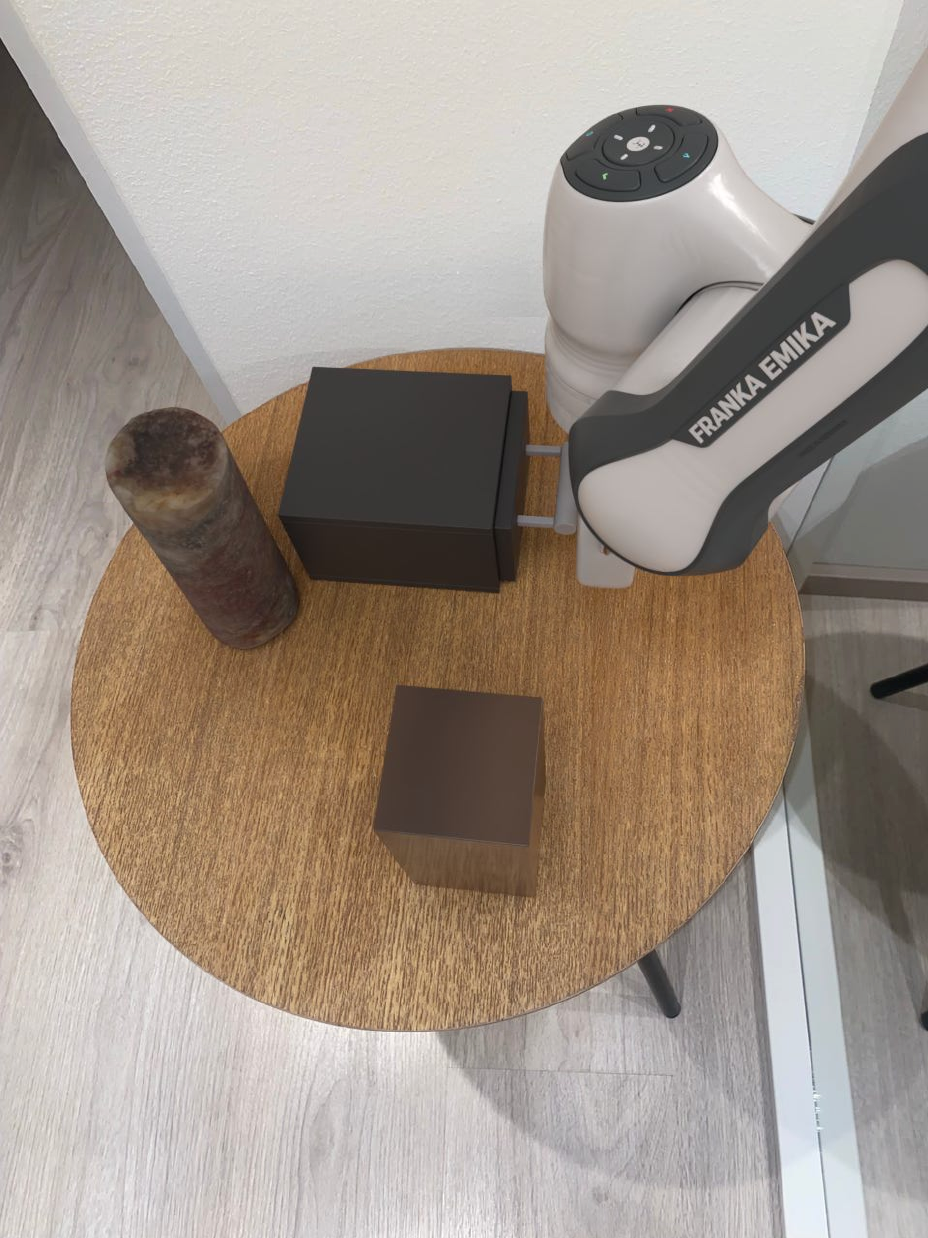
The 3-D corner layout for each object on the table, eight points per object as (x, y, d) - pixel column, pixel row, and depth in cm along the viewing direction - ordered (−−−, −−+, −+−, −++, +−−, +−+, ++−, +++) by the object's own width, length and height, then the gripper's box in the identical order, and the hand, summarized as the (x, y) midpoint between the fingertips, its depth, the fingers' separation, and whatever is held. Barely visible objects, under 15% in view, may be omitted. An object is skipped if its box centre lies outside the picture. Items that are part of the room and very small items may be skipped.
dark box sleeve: (516, 452, 78) (511, 375, 69) (499, 593, 73) (491, 528, 64) (338, 442, 80) (312, 366, 71) (309, 579, 74) (277, 515, 66)
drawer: (584, 456, 76) (587, 393, 69) (572, 586, 71) (574, 533, 64) (363, 444, 78) (344, 382, 71) (338, 569, 74) (315, 516, 67)
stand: (546, 778, 66) (543, 696, 52) (535, 898, 63) (528, 847, 49) (430, 767, 67) (396, 684, 53) (413, 884, 64) (372, 830, 50)
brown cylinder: (275, 547, 76) (188, 383, 58) (323, 616, 73) (246, 466, 55) (190, 599, 75) (73, 449, 56) (235, 671, 72) (127, 537, 54)
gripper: (667, 528, 53) (647, 632, 65) (679, 247, 61) (659, 386, 74) (551, 521, 54) (553, 625, 66) (578, 245, 62) (576, 383, 75)
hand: (609, 497), depth 70 cm, fingers closed
